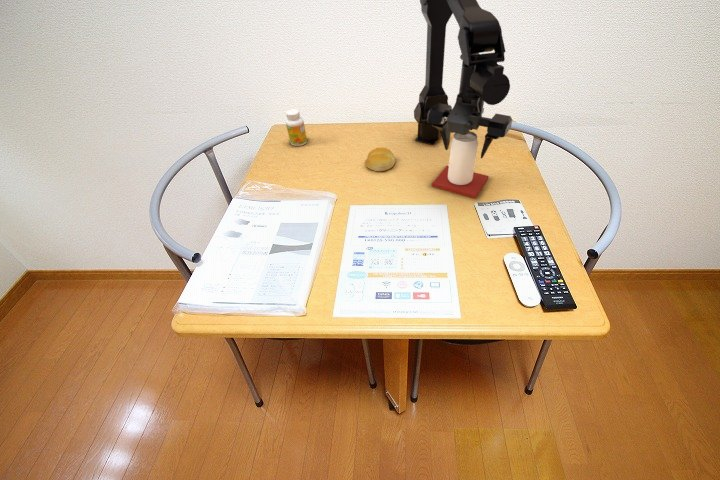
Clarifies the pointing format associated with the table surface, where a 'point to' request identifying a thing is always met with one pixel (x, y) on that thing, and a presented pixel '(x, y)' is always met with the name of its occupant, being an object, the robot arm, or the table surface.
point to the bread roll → (380, 159)
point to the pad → (466, 190)
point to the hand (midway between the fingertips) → (464, 153)
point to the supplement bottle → (295, 128)
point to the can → (462, 158)
